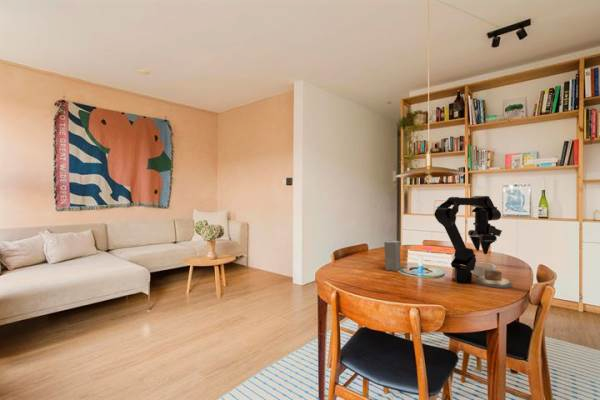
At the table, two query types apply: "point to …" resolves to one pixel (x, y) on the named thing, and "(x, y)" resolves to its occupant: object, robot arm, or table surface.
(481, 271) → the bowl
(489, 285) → the mat
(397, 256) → the skincare box
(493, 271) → the lid
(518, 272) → the table surface
